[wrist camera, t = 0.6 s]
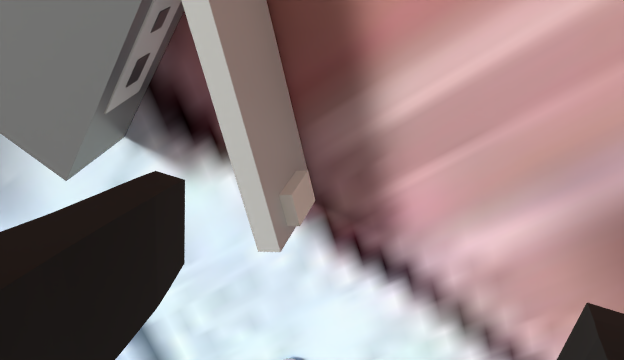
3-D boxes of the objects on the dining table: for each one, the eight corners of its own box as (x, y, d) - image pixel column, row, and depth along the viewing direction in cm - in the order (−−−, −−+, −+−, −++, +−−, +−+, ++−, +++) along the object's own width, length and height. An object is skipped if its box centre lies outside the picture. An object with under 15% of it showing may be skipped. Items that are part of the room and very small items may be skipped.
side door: (325, 197, 22) (293, 252, 19) (291, 197, 22) (255, 251, 19) (261, -82, 17) (207, -63, 15) (220, -73, 18) (161, -53, 15)
